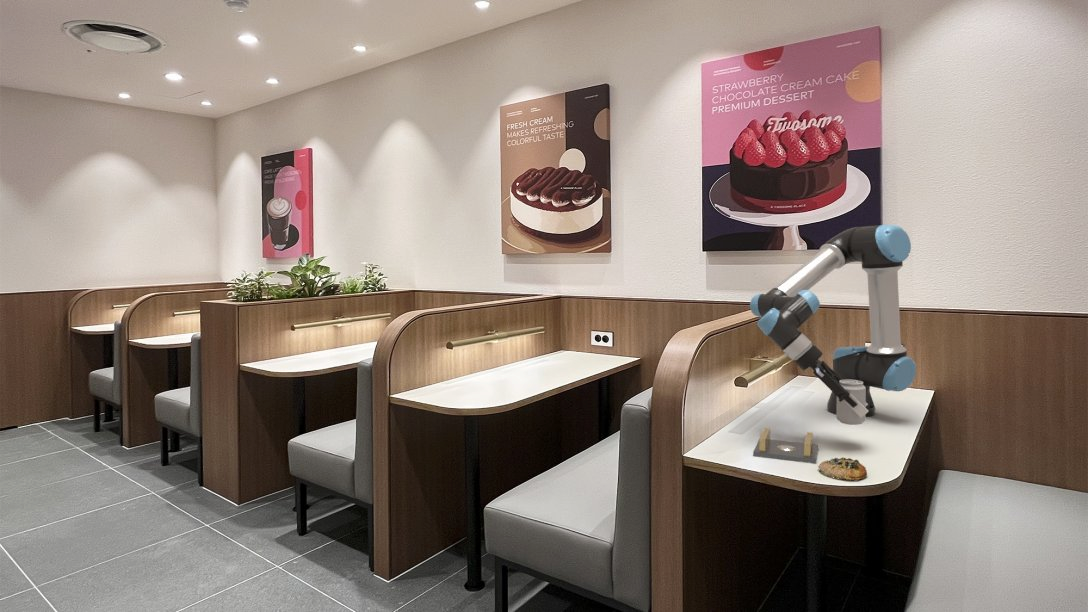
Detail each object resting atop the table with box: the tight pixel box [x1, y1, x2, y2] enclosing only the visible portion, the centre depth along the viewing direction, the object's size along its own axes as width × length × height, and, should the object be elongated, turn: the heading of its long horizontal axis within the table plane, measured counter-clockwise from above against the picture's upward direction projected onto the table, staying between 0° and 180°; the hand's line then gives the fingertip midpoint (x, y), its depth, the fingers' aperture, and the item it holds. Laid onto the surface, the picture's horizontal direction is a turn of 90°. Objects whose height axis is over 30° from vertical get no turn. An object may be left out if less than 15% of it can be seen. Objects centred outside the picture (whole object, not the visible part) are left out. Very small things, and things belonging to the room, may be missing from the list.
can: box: [836, 380, 867, 426], centre depth 177 cm, size 8×8×12 cm
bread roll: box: [817, 456, 868, 481], centre depth 156 cm, size 11×11×5 cm
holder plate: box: [752, 427, 819, 464], centre depth 174 cm, size 16×14×5 cm
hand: (864, 410), depth 176 cm, fingers closed on can, 7 cm apart
